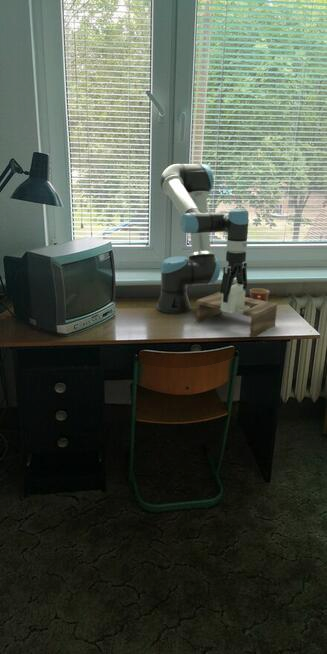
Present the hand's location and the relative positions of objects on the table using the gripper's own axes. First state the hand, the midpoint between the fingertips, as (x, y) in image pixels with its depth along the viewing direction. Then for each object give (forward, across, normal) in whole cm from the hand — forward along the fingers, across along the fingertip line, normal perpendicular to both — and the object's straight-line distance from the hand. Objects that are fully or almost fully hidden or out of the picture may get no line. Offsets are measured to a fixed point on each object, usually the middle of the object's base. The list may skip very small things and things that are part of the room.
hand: (232, 306), depth 194 cm
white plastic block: (+1, 0, 0) cm, 1 cm away
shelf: (+10, +8, +3) cm, 13 cm away
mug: (+10, +26, +2) cm, 28 cm away
